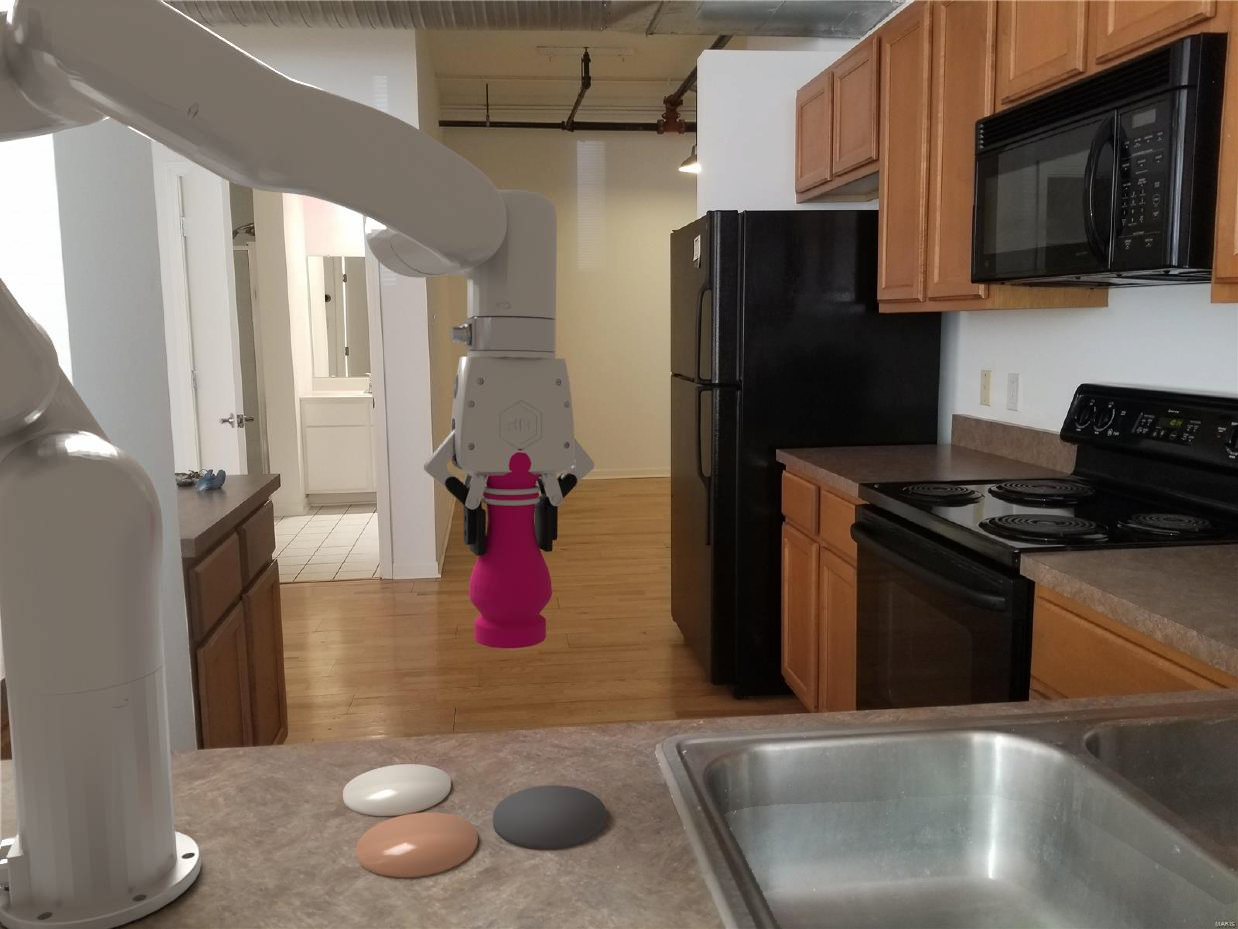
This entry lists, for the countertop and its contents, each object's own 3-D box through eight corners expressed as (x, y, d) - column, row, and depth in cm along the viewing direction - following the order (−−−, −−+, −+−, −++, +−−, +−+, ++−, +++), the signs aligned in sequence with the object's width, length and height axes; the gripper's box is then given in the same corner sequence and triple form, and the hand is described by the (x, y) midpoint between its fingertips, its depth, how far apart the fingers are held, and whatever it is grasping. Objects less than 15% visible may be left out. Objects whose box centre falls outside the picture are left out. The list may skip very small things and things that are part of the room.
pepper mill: (454, 645, 82) (454, 411, 80) (490, 625, 89) (490, 409, 87) (532, 654, 80) (534, 413, 78) (563, 632, 87) (565, 411, 85)
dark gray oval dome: (554, 867, 70) (554, 857, 70) (469, 827, 76) (469, 818, 76) (628, 816, 77) (628, 807, 77) (545, 784, 83) (545, 775, 83)
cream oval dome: (349, 828, 76) (348, 819, 76) (338, 782, 85) (338, 774, 85) (461, 808, 80) (460, 799, 79) (440, 766, 88) (439, 757, 88)
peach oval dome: (364, 893, 67) (363, 882, 67) (350, 834, 75) (350, 824, 75) (490, 867, 70) (490, 857, 70) (463, 814, 79) (463, 804, 79)
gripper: (418, 337, 75) (419, 565, 77) (621, 342, 81) (617, 553, 83) (403, 339, 82) (404, 548, 84) (591, 345, 88) (588, 539, 90)
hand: (510, 548), depth 84 cm, fingers closed on pepper mill, 5 cm apart
